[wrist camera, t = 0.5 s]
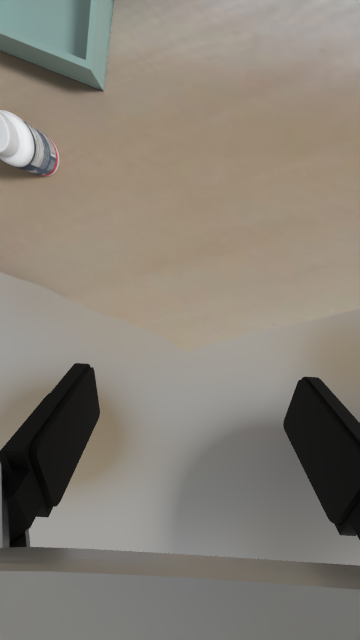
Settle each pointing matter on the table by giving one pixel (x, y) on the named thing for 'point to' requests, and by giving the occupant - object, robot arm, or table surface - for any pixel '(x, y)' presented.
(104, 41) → the bin
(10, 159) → the pill bottle
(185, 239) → the table surface
